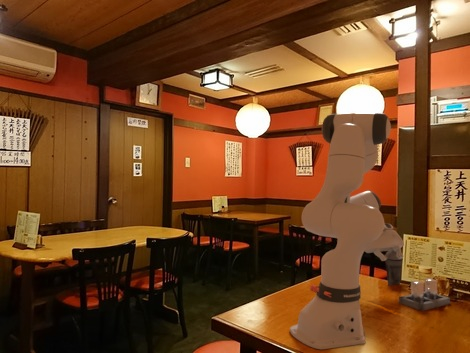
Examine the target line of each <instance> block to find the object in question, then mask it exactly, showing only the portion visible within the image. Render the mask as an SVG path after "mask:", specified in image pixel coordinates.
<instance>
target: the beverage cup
mask: <svg viewBox="0 0 470 353" xmlns="http://www.w3.org/2000/svg"><path fill="white" fill-rule="evenodd" d="M384 255H385V256H386V257H387V260H386V261H385V265H386V279H387V280H386V281H387V285H388V286H396V285H400V283H401V273H402V265H403V259H404V258H401V259H398V257H397V256H396V255H397V253H396V252H395V251H394V250H389V251H386V253H385V254H384Z"/></svg>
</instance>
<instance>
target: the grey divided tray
mask: <svg viewBox="0 0 470 353" xmlns="http://www.w3.org/2000/svg"><path fill="white" fill-rule="evenodd" d="M398 303H399V304H401V305H404V306H407V307H409V308H413V309H416V310H417V311H421V312H423V311H427V310H431V309H435V308H439V307H442V306H446V305H450V304H451V298H450V297H448V296H444V295H440V294H438V293H437V299H435V300H432V299H429V298H426V297H425V290H424V302H423V303H418V302H416V301H413V300H411V294H407V295H403V296H401V295H400V296H399V297H398Z"/></svg>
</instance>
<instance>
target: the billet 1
mask: <svg viewBox="0 0 470 353" xmlns="http://www.w3.org/2000/svg"><path fill="white" fill-rule="evenodd" d="M410 287H411V288H410V289H411V290H410V293H411V300H413V301H416V302H418V303H423V302H424V291H425V282H423V281H419V280H411V281H410Z"/></svg>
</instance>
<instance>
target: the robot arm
mask: <svg viewBox="0 0 470 353" xmlns="http://www.w3.org/2000/svg"><path fill="white" fill-rule="evenodd" d="M391 132H392V125H391V122H390V119H389V116H388V115H386V114H385V113H384V112H383V113H382V112H361V111H360V112H356V111H352V112H349V111H348V112H343V113H331V114H329V115H327V116H326V117H325V118H324V119H323V121H322V125H321V133H322V138H323V140H324V141H325V142H326V143H328V144H329V148H328V149H329V150H328V155H327V156H328V157H327V166H326V172H325V177H324V182H323V185H322V187H321V189H320V190H319V192H318V194H317V195H316V197H314V199H313V200H311V202H309V203H307V204H306V205H305V206H304V208H303V209H302V212H301V223H302V226H303V227H304V230H306V231H307V232H309V233H312V234H314V235H318V236H320V237H325V238H326V237H327V238H332V239H333V238H335V239H337V240H336V242H337V244H336V246H335V248H334V249H333V248H332V249H331V250H329V251H327V252H325V254H324V255H323V256H322V257H321V260H320V262H321V264H320V266H321V268H320V269H321V271H320V272H321V273H320V274H321V275H320V278H321V279H320V280H321V281H320V282H319V284H318V285H316V284H311V285H310V286H309V290H310V291H311V292H313V293H316V295H315V296H314V297H313V299H311V300H310V301H309V302H308V303H307V304H306V305H305V306H304V307H303V308H302V309H301V310H300V312H299V315H298V319H297V324H294V325H292V326H290V327H289V331H290V334H291V335H292V336H293V337H294V338H295V339H296V340H298V341H299V342H300V343H302V344H304V345H305V346H308V347H309V348H310V347H311V348H313V349H317V350H327V349H334V348H341V347H343V348H344V347H349V346H354V345H355V346H356V345H363V344H366V337H365V330H364V327H363V320H362V319H363V318H362V310H361V305H360V299H361V297H362V296H361V294H362V290H361V285H360V268H361V260H362V257H363V254H364V252H365V253H366V254H371V253H373V254H374V255H375V256H377V258H379V260H380V261H381V262H386V260H387V257H386V256H385V255H386V254H383V253H382V252H388V251H389V250H394V251H395V252H396V253H397V255H396V256H397V257H398V259H401V258H402V259H404V254H403V253H402V249H401V248H402V247H404V246H405V242H404V240H403V238H402V237H401V236H400V235H399V233H398V232H397V231H396V230H394V226H393V225H392V224H391V223H387V222H385V218H384V216H383V213H382V212H381V211H380V208H381V207H382V206H381V205H382V202H381V199H380V198H379V196H378V195H377V194H376V193H375V192H374V191H372V190H366V191H363V192H360V193H357V194H354V195H352V196H351V194H352V193H353V192H354V191H356V190H358V189H359V188H360V187H361V186H362V184H363V183H364V175H365V174H366V173H369V172H370V171H371V170H372V169H373V168H374V167H375V166H376V164H377V161H378V157H379V145H381V144H384V143H385V142H387V140H388V138H389V137H390V134H391Z"/></svg>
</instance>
